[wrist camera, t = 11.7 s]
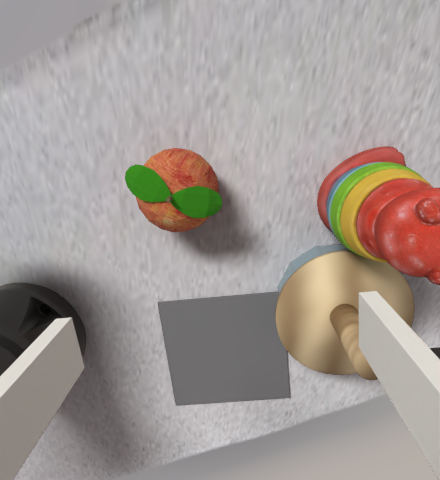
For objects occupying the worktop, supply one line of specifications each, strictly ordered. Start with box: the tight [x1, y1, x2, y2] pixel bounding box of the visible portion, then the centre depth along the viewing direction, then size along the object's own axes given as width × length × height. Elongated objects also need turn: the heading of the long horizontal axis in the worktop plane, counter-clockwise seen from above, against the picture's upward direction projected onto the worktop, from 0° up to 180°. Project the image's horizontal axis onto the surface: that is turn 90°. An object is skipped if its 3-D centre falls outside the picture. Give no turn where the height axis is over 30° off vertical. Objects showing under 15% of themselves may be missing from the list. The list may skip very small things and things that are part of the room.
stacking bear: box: [317, 147, 440, 285], centre depth 32 cm, size 11×10×18 cm
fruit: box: [125, 148, 222, 232], centre depth 36 cm, size 9×10×10 cm
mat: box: [158, 292, 290, 405], centre depth 47 cm, size 16×16×1 cm
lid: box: [275, 250, 414, 380], centre depth 35 cm, size 15×15×9 cm
